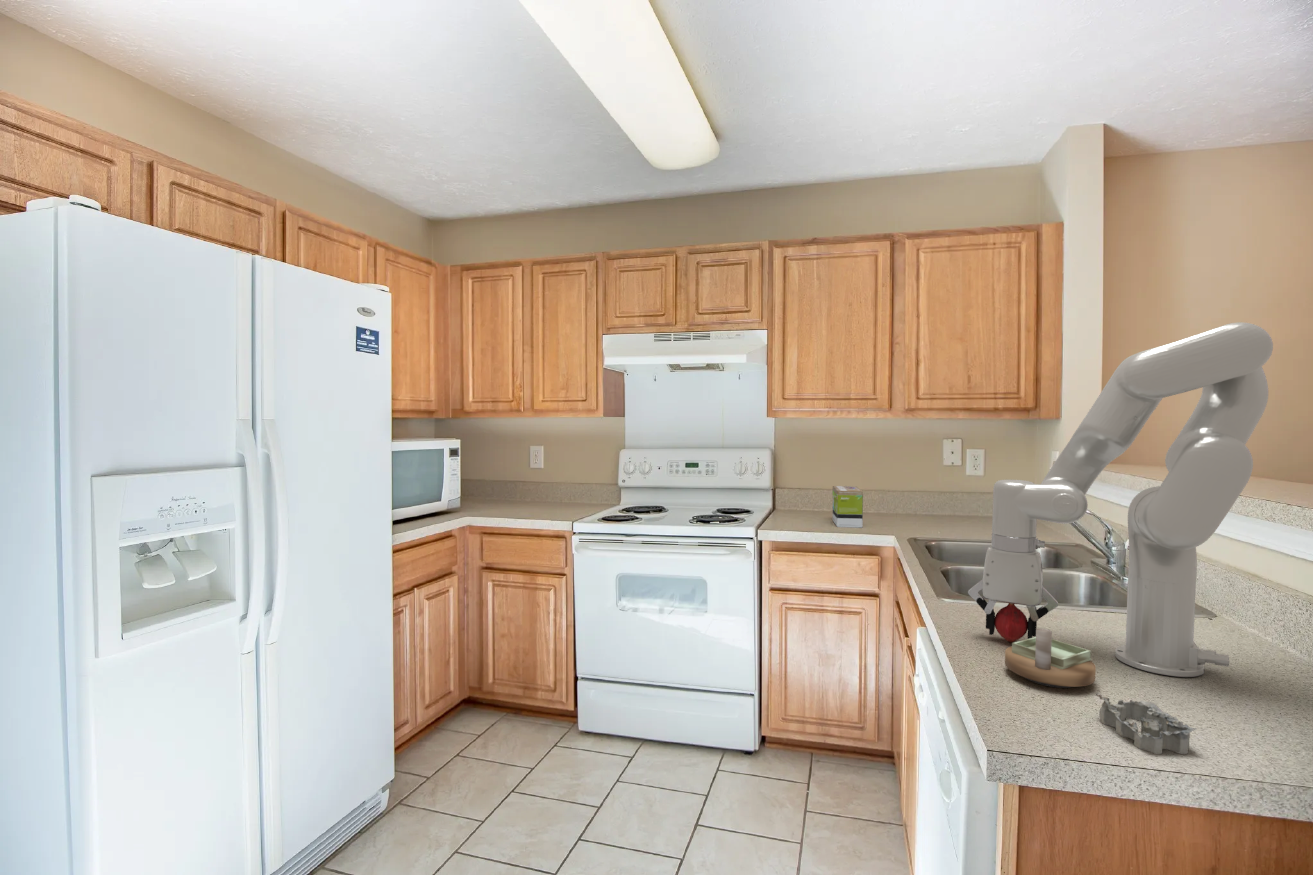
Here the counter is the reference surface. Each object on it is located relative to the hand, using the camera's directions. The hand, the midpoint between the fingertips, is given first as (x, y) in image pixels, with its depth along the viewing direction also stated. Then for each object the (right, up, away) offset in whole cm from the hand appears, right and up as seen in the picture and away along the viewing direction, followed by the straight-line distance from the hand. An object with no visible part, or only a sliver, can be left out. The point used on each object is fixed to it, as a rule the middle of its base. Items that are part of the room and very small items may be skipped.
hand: (1010, 635), depth 126 cm
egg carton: (-1, -3, -36) cm, 36 cm away
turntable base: (-3, -2, -17) cm, 17 cm away
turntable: (-3, -1, -17) cm, 17 cm away
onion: (0, -2, 0) cm, 2 cm away
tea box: (+7, +3, +133) cm, 133 cm away
